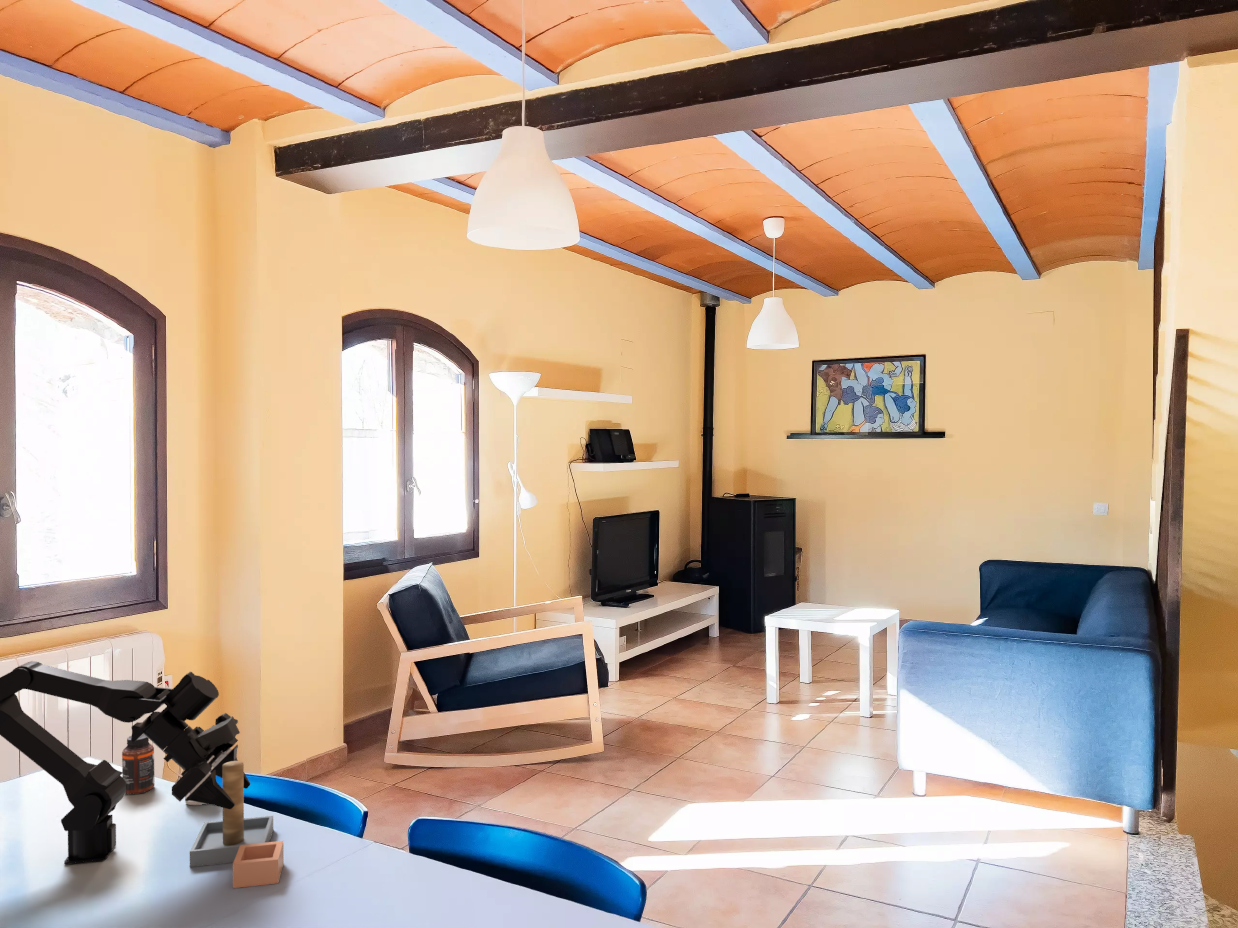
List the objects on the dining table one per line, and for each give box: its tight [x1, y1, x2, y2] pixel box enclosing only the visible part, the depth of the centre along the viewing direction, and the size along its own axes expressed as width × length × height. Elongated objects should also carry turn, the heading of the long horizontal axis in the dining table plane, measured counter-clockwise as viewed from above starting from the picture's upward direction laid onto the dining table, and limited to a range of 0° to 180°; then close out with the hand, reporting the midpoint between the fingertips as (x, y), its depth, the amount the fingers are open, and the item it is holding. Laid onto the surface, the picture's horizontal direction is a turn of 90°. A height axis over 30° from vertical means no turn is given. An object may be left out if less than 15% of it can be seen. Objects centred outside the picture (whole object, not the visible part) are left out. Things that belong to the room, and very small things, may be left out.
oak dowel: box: [221, 760, 245, 846], centre depth 159 cm, size 4×4×14 cm
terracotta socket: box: [232, 840, 285, 889], centre depth 149 cm, size 7×7×4 cm
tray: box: [189, 815, 274, 868], centre depth 159 cm, size 12×12×3 cm
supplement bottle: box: [121, 735, 156, 795], centre depth 185 cm, size 6×6×11 cm
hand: (241, 796), depth 159 cm, fingers open, 9 cm apart
